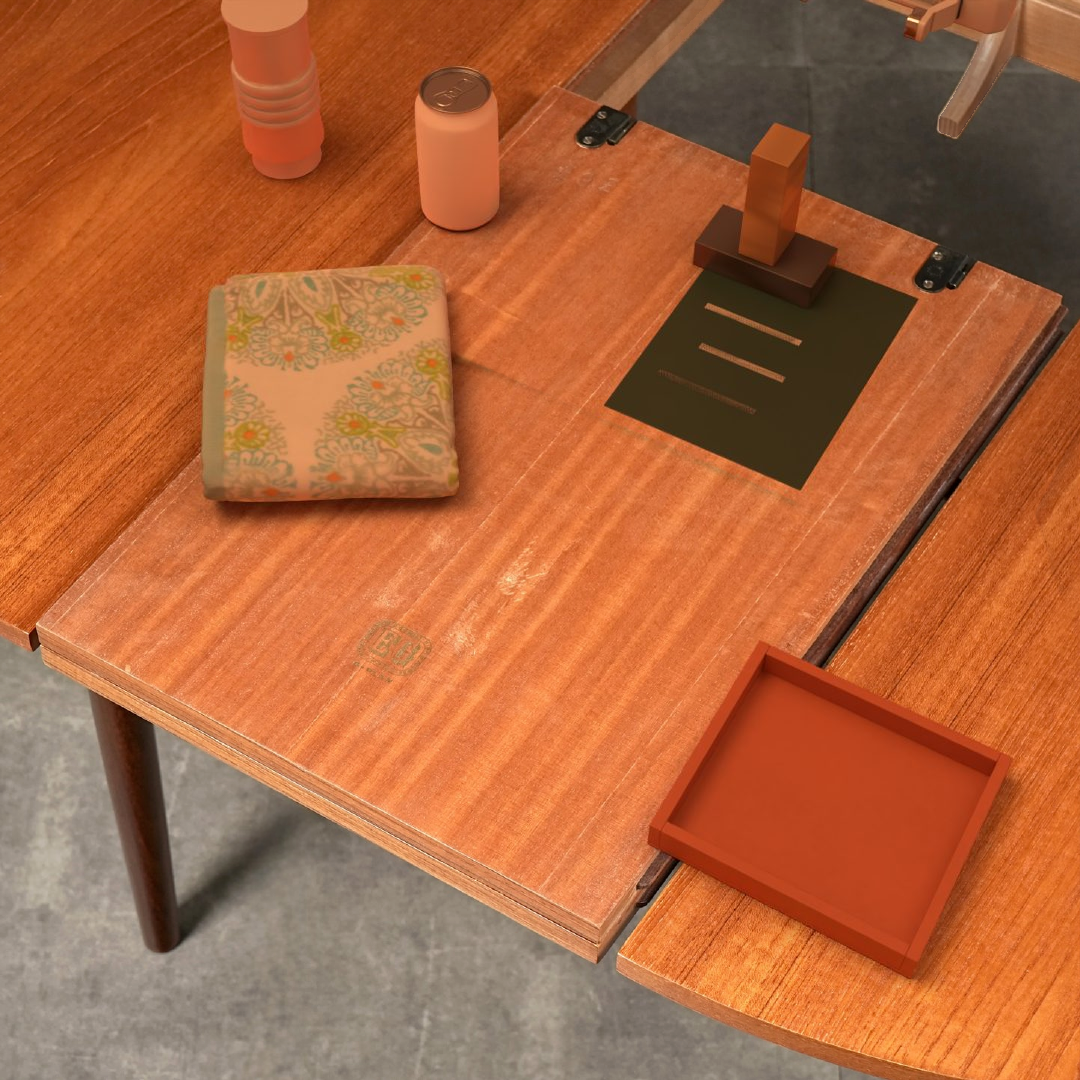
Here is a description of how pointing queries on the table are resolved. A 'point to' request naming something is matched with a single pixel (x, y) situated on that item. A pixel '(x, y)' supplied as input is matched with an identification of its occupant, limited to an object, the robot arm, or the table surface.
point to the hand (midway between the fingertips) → (854, 11)
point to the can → (457, 148)
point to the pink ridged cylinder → (275, 84)
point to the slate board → (762, 369)
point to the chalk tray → (831, 806)
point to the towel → (329, 386)
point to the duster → (769, 227)
